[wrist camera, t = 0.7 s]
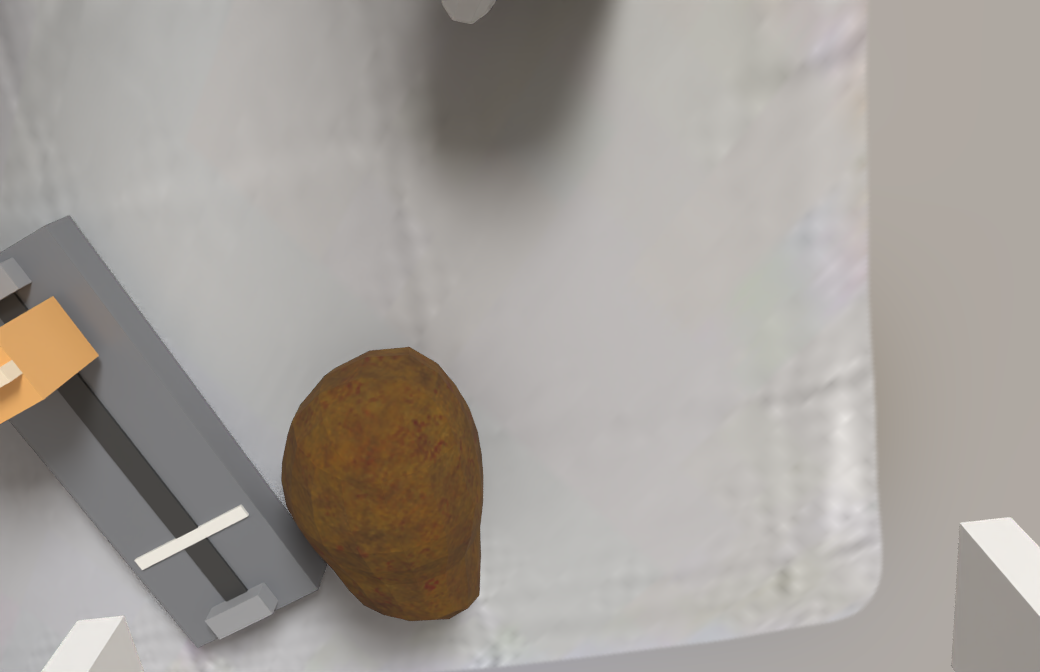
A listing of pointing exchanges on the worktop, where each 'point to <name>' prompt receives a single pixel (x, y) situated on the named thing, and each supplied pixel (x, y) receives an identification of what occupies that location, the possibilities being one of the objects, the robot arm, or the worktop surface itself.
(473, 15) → the cup
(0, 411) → the slider
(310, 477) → the potato
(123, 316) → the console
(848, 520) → the worktop surface
